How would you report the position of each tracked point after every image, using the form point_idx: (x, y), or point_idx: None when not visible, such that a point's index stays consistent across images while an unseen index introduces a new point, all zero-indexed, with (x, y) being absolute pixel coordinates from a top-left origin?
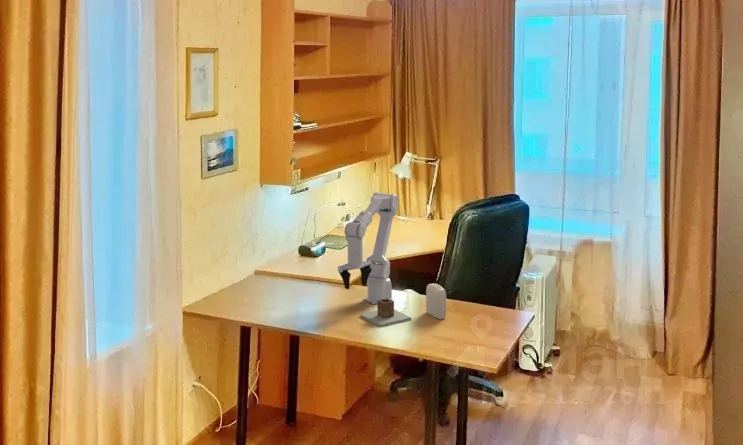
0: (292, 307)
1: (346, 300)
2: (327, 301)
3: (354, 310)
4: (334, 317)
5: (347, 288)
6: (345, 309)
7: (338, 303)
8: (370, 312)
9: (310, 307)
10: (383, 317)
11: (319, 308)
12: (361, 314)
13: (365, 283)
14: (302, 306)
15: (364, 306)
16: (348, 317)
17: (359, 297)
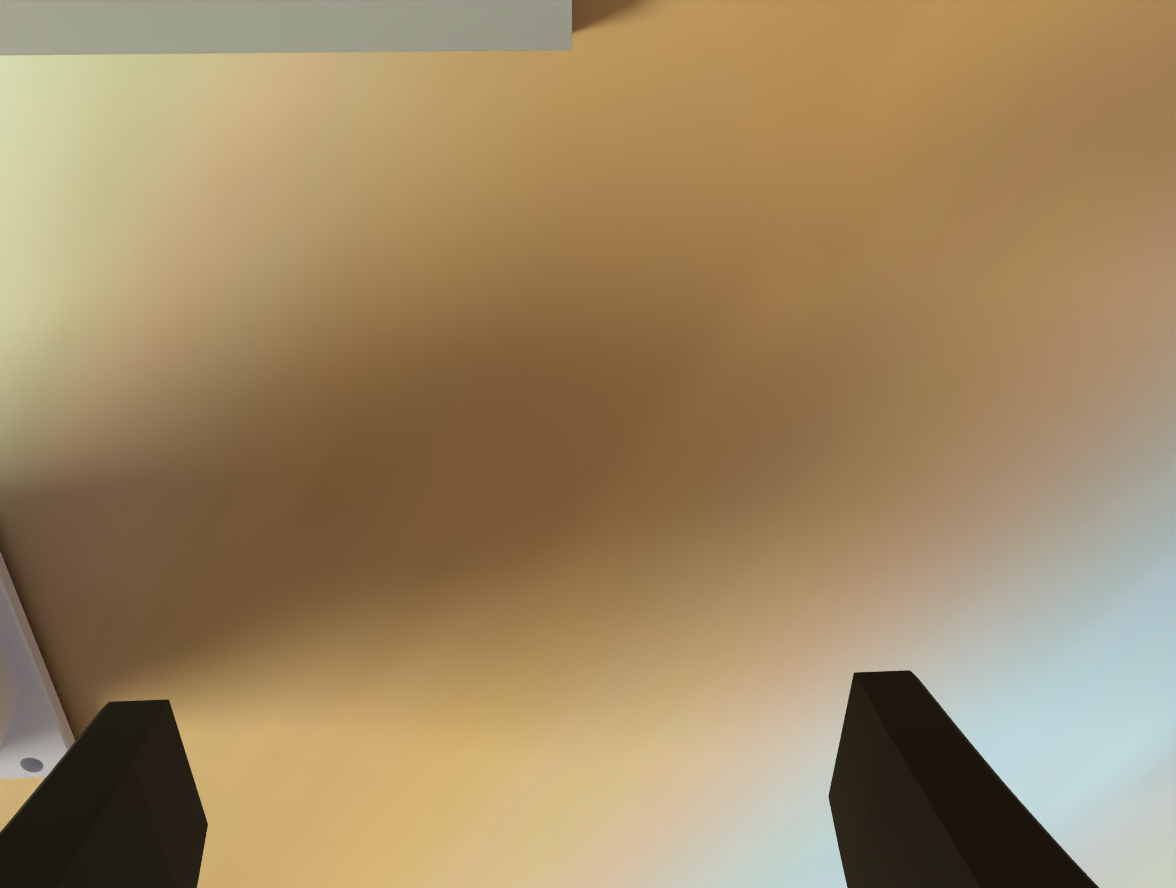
0: (1127, 874)
1: (354, 814)
2: (617, 874)
3: (474, 418)
4: (1024, 286)
5: (928, 700)
6: (588, 530)
7: (528, 770)
8: (290, 8)
9: None
10: None
11: None
12: (565, 5)
13: (96, 769)
14: None
15: (197, 502)
16: (815, 135)
17: None
